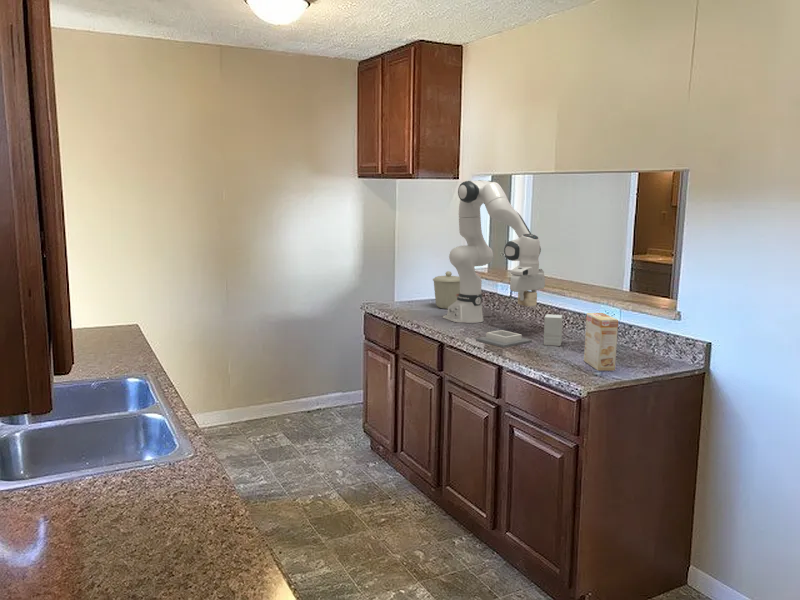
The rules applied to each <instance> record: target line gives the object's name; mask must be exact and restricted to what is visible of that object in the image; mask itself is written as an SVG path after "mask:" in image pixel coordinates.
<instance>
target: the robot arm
mask: <svg viewBox="0 0 800 600" xmlns="http://www.w3.org/2000/svg"><path fill="white" fill-rule="evenodd" d="M457 194H458V195H457V196H458V198H459V199H460V201H459V206H458V229H459V230H458V231H459V234H460V236H461V237H462V238H464V239H465V241H466V243H467V244H466V245H459V246H456V247H453V248H452V249H451V250H450V251H449V256H448V257H449V259H448V260H449V262H450V263H451V265H452V266H453V267H454V268H455V269H456V271H457V273H458V277H459V279H460V293H459V294H456V295H457V296H458V298H457V300H456V301H455V302H454V303H453V304H451V305H450V306H449V307H448V309H447V314H444V315H443V316H442V319H445V320H448V321H451V322H454V323H467V324H472V323H473V324H475V323H483V322H484V320H485V319H484V316H483V315H484V314H483V305H482V302H483V293H482V283H483V282H482V277H481V276H480V275H478V274H477V273H476V269H475V267H482V266H483V267H484V266H486V265H488V264H491V262H492V261H493V259H494V252H493V248H491V247H490V246H489V245H488V244H487V242H486V241H485V239H484V236H483V233H482V222H481V221H482V220H481V219H482V218H481V217H482V216H481V207H482V205H484V206H485V208H486V211H487V213H488V215H489V216H490V218H491V219H492V220H493V221H495V222H497V223H500V224H503V225H506V226H508V227H510V228H511V229H513V231H514V232H515V234H516V236H517V238H516V239H513V240H509V241H507V242H506V243H505V245H504V250H503V252H504V253H503V254H504V256H505V258H506V259H507V260H508V261H510V262H519V263H518V265H517V266H516V267H513V268H512V269H511V270H510V273H511V275H510V283H509V288H510V291H511V292H516V293H518V292H519V295H520V300H521V301H524V300H525V297H524V295H523V293H524V291H531V292H536V293H538V292H537V291H538V290H543V289H544V288H545V287H546V277H545V271H544V270H543V269H542V268H540V261H539V257H540V254H541V251H542V248H541V244H540V239H539V236H537V235H535V234H532V232H531V231H530V229H529V227H528V226H527V224H526V223H525V221H524V218H523V217H522V216H521V214H520V213H519V212H518V211H517V210H516V209H515V208H514V207H513V206H512V205H511V203H510V201H509V198H508V196H507V194H506V193H505V191H504V189H503V188H502V187H501V185H500V183H498V182H496V181H492V180H483V179H482V180H480V179H479V180H466V181H463V182H460V184H459V186H458V189H457Z"/></svg>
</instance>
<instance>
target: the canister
mask: <svg viewBox="0 0 800 600" xmlns="http://www.w3.org/2000/svg"><path fill="white" fill-rule="evenodd" d="M452 274H453V273H452V271H450V270H447V271H445V274H444V275H438V276H435V277H434V278H432V281H433V288H434V297H435V304H436V307H437V308H440V309H443V310H448V307H449V306H450V305H451V304H453V303H454V302H455V301H456V300H457V298H458V296H457V295H456V294H459V293H460V279H459V275H452Z"/></svg>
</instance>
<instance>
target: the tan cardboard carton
mask: <svg viewBox="0 0 800 600" xmlns="http://www.w3.org/2000/svg"><path fill="white" fill-rule="evenodd" d="M523 295H524V297H525V300H524V301H521V300H520V295H519V292H517V305H519V306H524V307H536V306H537V302H538V301H537V300H538V299H537V298H538V292H532V291H531V290H528V291H524V293H523Z"/></svg>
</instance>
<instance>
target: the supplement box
mask: <svg viewBox="0 0 800 600" xmlns="http://www.w3.org/2000/svg"><path fill="white" fill-rule="evenodd" d="M543 318H544V320H543V321H544V323H543V324H544V325H543V326H544V327H543V346H555V347H561V345H562V340H563V314H550V313H549V314H548V313H547V314H545V316H544V317H543Z"/></svg>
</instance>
